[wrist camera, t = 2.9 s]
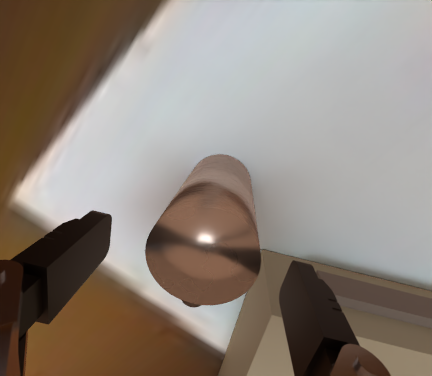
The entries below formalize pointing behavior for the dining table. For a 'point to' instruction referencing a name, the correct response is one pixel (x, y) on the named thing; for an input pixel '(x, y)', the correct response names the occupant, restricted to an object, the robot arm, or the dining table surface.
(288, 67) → the dining table surface
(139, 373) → the dining table surface
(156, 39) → the dining table surface
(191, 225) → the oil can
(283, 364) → the slab with orange tray
